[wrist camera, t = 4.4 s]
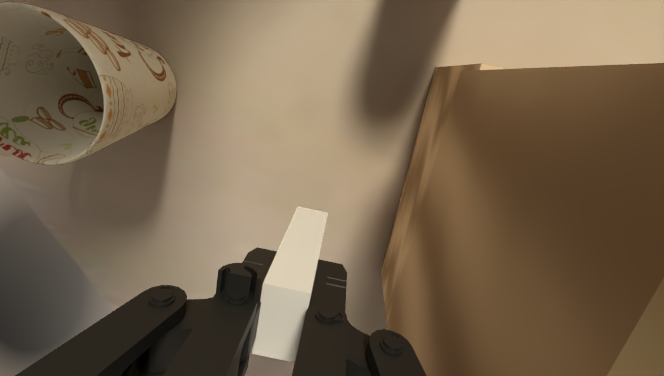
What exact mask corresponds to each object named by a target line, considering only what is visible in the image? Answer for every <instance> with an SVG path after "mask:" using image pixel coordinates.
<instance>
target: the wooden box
mask: <svg viewBox="0 0 664 376" xmlns="http://www.w3.org/2000/svg"><path fill="white" fill-rule="evenodd" d="M496 69H506V68H501V67H496V66H491V65H486V64H471V65H460V66H448V67H436V68H435V71H434V75H433V79H432V82H431V86H430V90H429V93H428V97H427V101H426V105H425V108H424V112H423V116H422V120H421V123H420V127H419V131H418V134H417V138H416V142H415V146H414V149H413V153H412V157H411V161H410V164H409V168H408V172H407V175H406V179H405V183H404V187H403V190H402V194H401V198H400V201H399V205H398V209H397V213H396V216H395V220H394V224H393V228H392V231H391V235H390V239H389V242H388V246H387V250H386V254H385V257H384V261H383V265H382V269H381V280H382V288H383V296H384V304H385V312H386V320H387V322H388V319H389V315H390V312H391V308H392V305H393V302H394V298H395V295H396V291H397V288H398V285H399V281H400V278H401V274H402V271H403V267H404V264H405V261H406V257H407V254H408V250H409V247H410V243H411V240H412V237H413V233H414V230H415V226H416V223H417V219H418V216H419V213H420V209H421V206H422V202H423V199H424V195H425V192H426V189H427V185H428V182H429V178H430V175H431V172H432V168H433V165H434V161H435V158H436V154H437V151H438V148H439V144H440V141H441V137H442V134H443V130H444V127H445V124H446V120H447V117H448V113H449V110H450V106H451V103H452V100H453V96H454V93H455V89H456V86H457V82H458V79H459V76H460V72H461V71H470V70H496Z"/></svg>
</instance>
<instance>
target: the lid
mask: <svg viewBox="0 0 664 376" xmlns="http://www.w3.org/2000/svg"><path fill="white" fill-rule="evenodd" d="M385 330H391V331H394V332H396V333H398V334H401V335H402V336H403V337H404V338H406V339H407V340H408V341H409V343H410V344H411V346H412V347H413V349H414V351H415V353H416V355H417V357H418V359H419V361H420V363H421V365H422V367H423V369H424V371H425V373H426V375H427V376H664V63H655V64H629V65H602V66H576V67H549V68H523V69H496V70H470V71H461V72H460V76H459V79H458V82H457V86H456V89H455V93H454V96H453V100H452V103H451V106H450V110H449V113H448V117H447V120H446V124H445V127H444V130H443V134H442V137H441V141H440V144H439V148H438V151H437V154H436V158H435V161H434V165H433V168H432V172H431V175H430V178H429V182H428V185H427V189H426V192H425V195H424V199H423V202H422V206H421V209H420V213H419V216H418V219H417V223H416V226H415V230H414V233H413V237H412V240H411V243H410V247H409V250H408V254H407V257H406V261H405V264H404V267H403V271H402V274H401V278H400V281H399V285H398V288H397V291H396V295H395V298H394V302H393V305H392V308H391V312H390V315H389V319H388V322H387V326H386V329H385Z"/></svg>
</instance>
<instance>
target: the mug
mask: <svg viewBox="0 0 664 376" xmlns="http://www.w3.org/2000/svg"><path fill="white" fill-rule="evenodd" d="M176 93H177V86H176V80H175V77H174V74H173V71H172V69H171V68H170V66H169V64H168V63H167V62H166V60H165V59H164V58H163V57H162V56H161V55H160V54H159V53H157V52H156V51H155V50H153V49H151V48H149V47H147V46H145V45H142V44H140V43H137V42H134V41H132V40H129V39H126V38H123V37H121V36H118V35H115V34H113V33H110V32H107V31H104V30H102V29H99V28H96V27H94V26H91V25H88V24H85V23H83V22H80V21H77V20H75V19H72V18H69V17H66V16H64V15H61V14H58V13H56V12H53V11H50V10H47V9H44V8H41V7H37V6H34V5H30V4H25V3H18V2H3V3H0V155H2V156H11V155H14V156H16V157H19V158H21V159H23V160H26V161H29V162H33V163H37V164H44V165H59V164H66V163H71V162H74V161H77V160H80V159H82V158H84V157H86V156H89V155H91V154H93V153H95V152H97V151H99V150H101V149H103V148H105V147H107V146H108V145H110V144H112V143H114V142H116V141H118V140H120V139H122V138H124V137H126V136H128V135H130V134H132V133H134V132H136V131H138V130H140V129H142V128H144V127H146V126H148V125H150V124H152V123H154V122H156V121H158V120H160V119H161V118H163V117H164V116H165V115H166V114H168V112H169V111H170V110H171V109H172V107H173V105H174V102H175V99H176Z"/></svg>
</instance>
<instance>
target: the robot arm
mask: <svg viewBox="0 0 664 376" xmlns="http://www.w3.org/2000/svg"><path fill="white" fill-rule="evenodd" d="M327 215H328V213H327V212H322V211H317V210H312V209H308V208H303V207H297V209H296V211H295V213H294V216H293V218H292V220H291V222H290V225H289V227H288V229H287V231H286V233H285V236H284V238H283V240H282V242H281V244H280V247H279V249H278V251H277V252H276V251H271V250H267V249H262V248H256V249H254V250H252V251H250V252H249V253H248V254H247V256H246V257H245V259H244V261H243V262H242V263H232V264H228V265H225V266H223V267H222V268H221V269H219V270H218V279H217V288H216V294H215V295H214V297H212V298H208V299H193V300H187V295H186V293H185V291H184V290H182V289H180V288H179V287H175V286H171V285H161V286H156V287H152V288H150V289H148V290H146V291H144V292H142V293H141V294H139V295H138V296H136V297H134V298H133V299H131V300H130V301H128V302H127V303H125V304H124V305H122V306H121V307H119V308H118V309H116V310H115V311H113V312H112V313H110V314H109V315H107V316H106V317H104V318H102V319H101V320H99V321H98V322H96V323H95V324H93V325H92V326H90V327H89V328H87V329H86V330H84V331H83V332H81V333H80V334H78V335H77V336H75V337H74V338H72V339H70V340H69V341H67V342H66V343H64V344H63V345H61V346H60V347H58V348H57V349H55V350H54V351H52V352H51V353H49V354H48V355H46V356H45V357H43V358H42V359H40V360H38V361H37V362H35V363H34V364H32V365H31V366H29V367H28V368H26V369H25V370H23V371H22V372H20V373H19V374H17V375H16V376H244V375H245V373H246V370H247V367H248V361H249V354H250V352H251V349H252V347H253V350H252V354H256V355H260V356H265V357H270V358H275V359H279V360H284V361H289V362H294V363H295V365H294V369H293V374H292V376H427V375H426V373H425V371H424V369H423V367H422V365H421V363H420V361H419V359H418V357H417V355H416V353H415V351H414V349H413V347H412V346H411V344H410V343H409V341H408V340H407V339H406V338H404V337H403V336H402V335H401V334H398V333H396V332H394V331H391V330H385V329H383V330H377V331H375V332H373V333H372V334H371V336H369V335H367V334H364V333H362V332H360V331H359V330H357V329H355V328H354V327H353V326H352V325H351V324H350V323H349V322H348V320H347V316H346V314H345V303H346V280H347V272H346V270H345V268H344V267H343V265H342V264H338V263H333V262H328V261H323V260H319V254H320V249H321V244H322V239H323V234H324V230H325V225H326V220H327Z"/></svg>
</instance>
